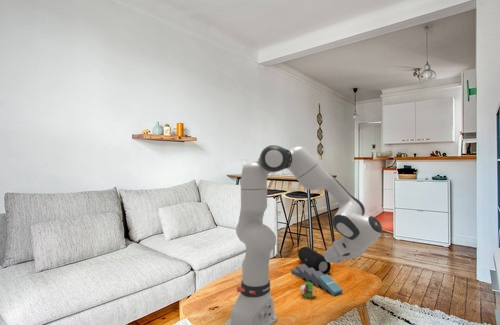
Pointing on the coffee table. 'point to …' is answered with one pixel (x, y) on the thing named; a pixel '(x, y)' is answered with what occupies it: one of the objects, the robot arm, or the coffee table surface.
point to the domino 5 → (330, 284)
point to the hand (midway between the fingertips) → (335, 261)
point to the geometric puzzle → (307, 289)
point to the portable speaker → (314, 260)
